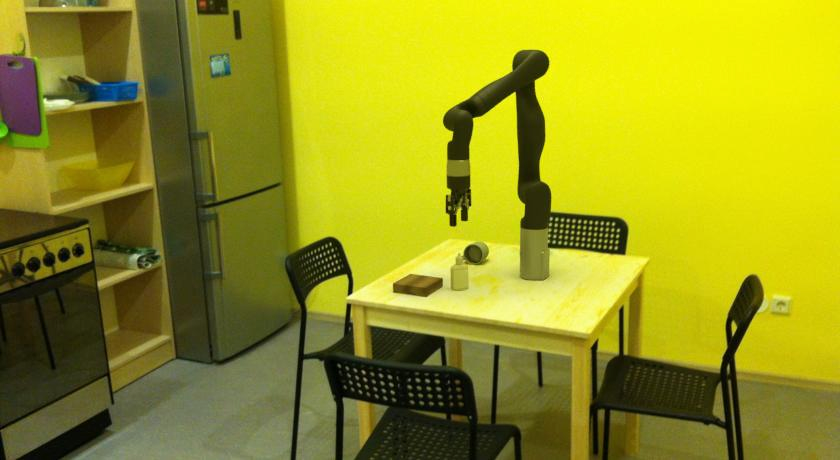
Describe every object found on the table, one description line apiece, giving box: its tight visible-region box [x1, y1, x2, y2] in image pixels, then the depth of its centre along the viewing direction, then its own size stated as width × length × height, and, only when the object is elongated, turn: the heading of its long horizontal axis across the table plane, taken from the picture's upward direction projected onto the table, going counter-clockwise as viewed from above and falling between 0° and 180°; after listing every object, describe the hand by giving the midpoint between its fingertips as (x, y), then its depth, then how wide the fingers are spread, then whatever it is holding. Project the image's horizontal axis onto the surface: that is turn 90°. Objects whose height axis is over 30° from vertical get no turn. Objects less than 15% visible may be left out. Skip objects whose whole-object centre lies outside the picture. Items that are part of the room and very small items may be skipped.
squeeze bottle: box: [450, 252, 469, 291], centre depth 262 cm, size 4×6×12 cm
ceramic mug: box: [461, 240, 490, 266], centre depth 294 cm, size 11×8×8 cm
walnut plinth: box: [392, 273, 444, 298], centre depth 263 cm, size 12×12×3 cm
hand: (458, 223), depth 258 cm, fingers open, 8 cm apart
